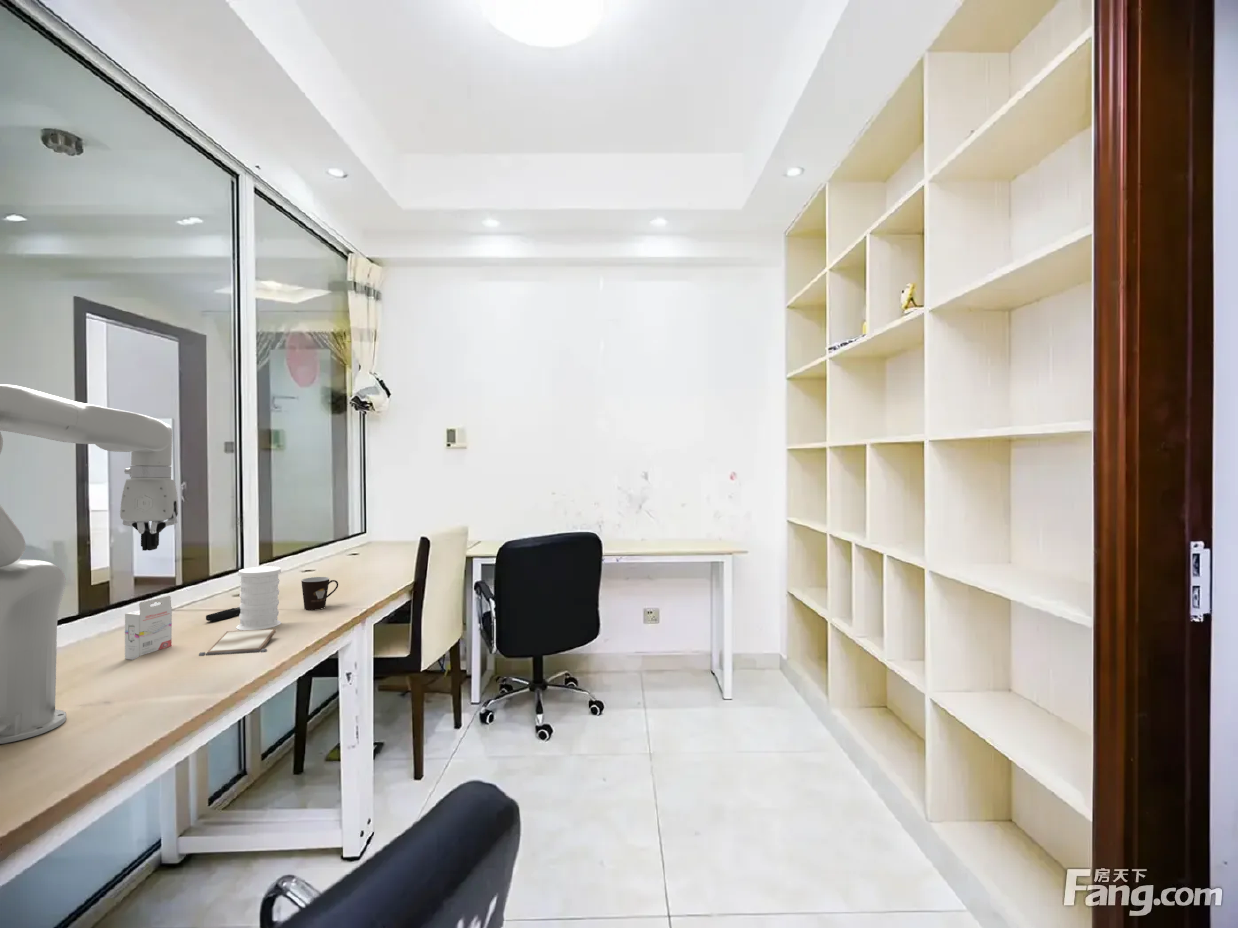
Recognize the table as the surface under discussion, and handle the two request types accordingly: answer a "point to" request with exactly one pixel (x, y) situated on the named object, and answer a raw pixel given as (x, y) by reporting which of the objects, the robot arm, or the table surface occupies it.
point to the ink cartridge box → (148, 628)
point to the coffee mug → (316, 592)
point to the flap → (242, 642)
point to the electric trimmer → (223, 614)
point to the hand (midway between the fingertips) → (149, 549)
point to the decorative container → (259, 598)
